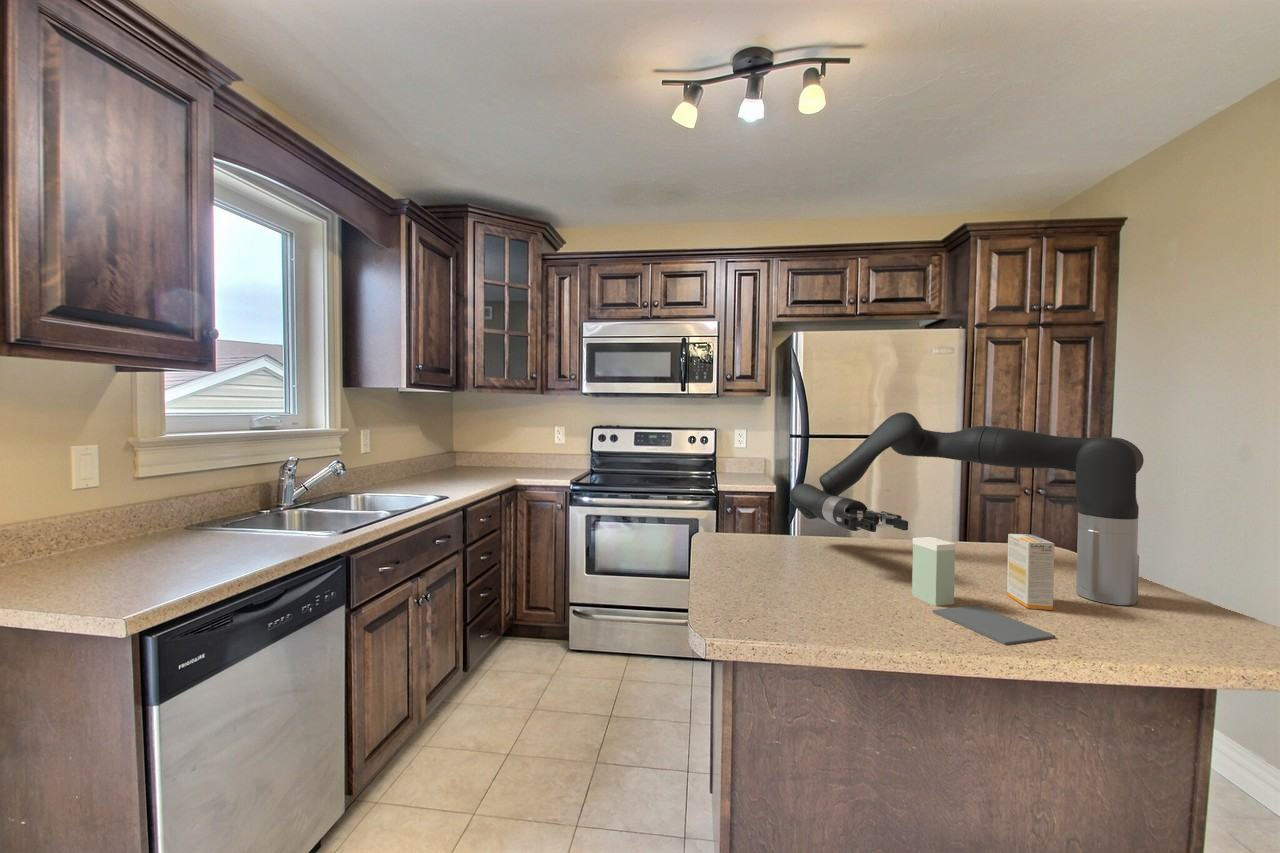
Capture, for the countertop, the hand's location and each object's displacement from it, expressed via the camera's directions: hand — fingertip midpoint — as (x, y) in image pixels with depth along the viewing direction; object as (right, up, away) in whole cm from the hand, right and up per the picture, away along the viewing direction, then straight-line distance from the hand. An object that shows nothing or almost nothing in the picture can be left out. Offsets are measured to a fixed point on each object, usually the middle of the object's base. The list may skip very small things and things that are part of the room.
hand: (891, 526), depth 116 cm
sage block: (+3, -13, -11) cm, 17 cm away
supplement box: (+22, -13, -12) cm, 28 cm away
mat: (+6, -13, -23) cm, 27 cm away
